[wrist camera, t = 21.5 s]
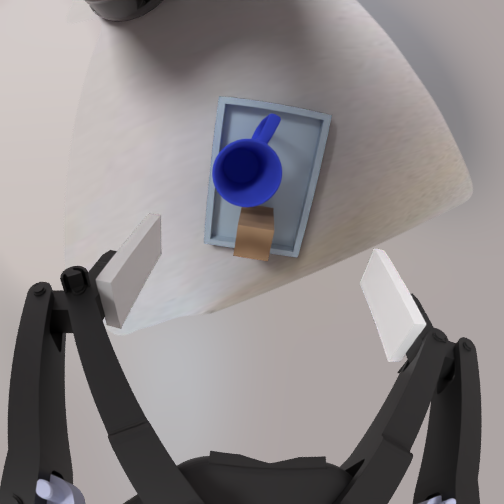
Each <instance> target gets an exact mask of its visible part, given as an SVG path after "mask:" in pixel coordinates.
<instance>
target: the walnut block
mask: <svg viewBox="0 0 504 504" xmlns="http://www.w3.org/2000/svg"><path fill="white" fill-rule="evenodd" d="M273 235H274V212H273V208H270V207H264V206H254V207H242V208H241V212H240V217H239V222H238V227H237V234H236V241H235V248H234V255H233V256H238V257H245V258H251V259H257V260H264V261H268V258H269V253H270V249H271V244H272V240H273Z"/></svg>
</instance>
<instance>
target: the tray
mask: <svg viewBox="0 0 504 504" xmlns="http://www.w3.org/2000/svg"><path fill="white" fill-rule="evenodd" d="M271 113H273V114H276V115H278V116H279V117H280V118H281V121H280V123H279V125H278V127H277V129H276V131H275V133H274V134H273V136H272V138H271V139H270V141H269V142H268V145H269V146H270V147H271V148H272V149H273V150H274V151H275V152H276V154H277V155H278V157H279V159H280V162H281V165H282V180H281V183H280V186H279V188H278V190H277V191H276V193H275V194H274V195H273V196H272V197H271V198H270V199H269V200H268V201H266V202H265V203H263V204H261V205H258V206H264V207H270V208H273V212H274V235H273V240H272V244H271V249H270V254H277V255H284V256H290V257H297V258H298V254H299V251H300V247H301V243H302V239H303V236H304V232H305V228H306V224H307V220H308V216H309V213H310V209H311V205H312V201H313V197H314V192H315V188H316V184H317V180H318V176H319V172H320V167H321V163H322V159H323V154H324V150H325V145H326V141H327V136H328V131H329V127H330V122H331V117H332V115H329V114H324V113H320V112H316V111H311V110H307V109H302V108H297V107H292V106H287V105H281V104H276V103H270V102H263V101H257V100H249V99H242V98H233V97H224V96H219V101H218V108H217V115H216V123H215V131H214V140H213V148H212V157H211V167H210V177H209V187H208V198H207V209H206V222H205V235H204V243H205V244H211V245H218V246H224V247H231V248H235V241H236V234H237V227H238V222H239V217H240V212H241V208H242V207H239V206H235V205H233V204H231V203H229V202H227V201H226V200H225V199H223V198H222V197H221V196H220V194H219V193H218V192H217V190H216V188H215V186H214V183H213V178H212V169H213V164H214V161H215V159H216V157H217V155H218V154H219V152H220V151H221V150H222V149H223V148H224V147H225V146H227V145H228V144H230V143H232V142H234V141H236V140H240V139H251V138H252V136H253V134H254V132H255V130H256V128H257V126H258V125H259V124H260V122H261V121H262V120H263V119H264V118H265V117H266V116H268V115H269V114H271Z"/></svg>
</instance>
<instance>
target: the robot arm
mask: <svg viewBox="0 0 504 504" xmlns="http://www.w3.org/2000/svg"><path fill="white" fill-rule="evenodd" d="M85 1H86V2H87V3H88V4H89V5H90V7H91V9H92V10H93V12H94V13H95V14H97V15H98V16H100V17H102V18H105V19H108V20H111V21H126V20H131V19H134V18H137V17H139V16H141V15H143V14H145V13H147V12H149V11H150V10H152V9H153V8H155V7H156V6H157V5H158V4H159V3H161V2H162V1H163V0H85ZM161 254H162V252H161V215H160V214H152V213H149V214H148V215H147V216H146V217H145V219H144V220H143V221H142V222H141V223H140V224H139V225H138V227H137V228H136V229H135V230H134V231H133V233H132V234H131V235H130V236H129V237H128V239H127V240H126V241H125V242H124V243H123V245H122V246H121V247H120V248H119V250H118V251H112V250H110V251H108V252H106V253H105V254H103V255H102V256H101V257H100V259H99V260H98V262H96V263H95V265H94V266H93V267H92V268H91V270H90V271H89V272H88V271H87V270H86V268H84V267H82V266H73V267H70V268H67V269H66V270H65V271H63V273H62V274H61V278H60V279H61V282H62V286H63V289H64V291H53V290H52V288H51V285H50V284H49V283H47V282H39V283H36V284H34V285H33V286H32V287H31V288H30V289H29V291H28V293H27V297H26V300H25V304H24V308H23V313H22V316H21V321H20V325H19V329H18V335H17V339H16V345H15V351H14V357H13V364H12V371H11V379H10V390H9V404H8V453H7V457H6V461H5V466H4V470H3V475H2V480H1V486H0V504H85V499H84V496H83V494H82V493H81V491H80V490H79V489H78V488H77V487H76V486H74V485H73V471H72V463H71V456H70V449H69V441H68V433H67V422H66V409H65V381H64V379H65V378H64V377H65V341H66V333H73V334H74V338H75V342H76V345H77V349H78V353H79V356H80V360H81V363H82V366H83V369H84V372H85V375H86V378H87V381H88V384H89V387H90V390H91V393H92V396H93V398H94V401H95V404H96V406H97V408H98V411H99V413H100V416H101V418H102V421H103V423H104V425H105V428H106V430H107V432H108V438H109V441H110V443H111V446H112V448H113V450H114V452H115V454H116V456H117V458H118V460H119V462H120V464H121V466H122V468H123V469H124V471H125V473H126V475H127V477H128V478H129V480H130V482H131V483H132V485H133V487H134V488H135V490H136V492H137V493H138V494H137V495H136V496H134V497H133V498H131V499H130V500H128V501H126V502H125V503H124V504H388V502H389V500H390V499H391V497H392V496H393V494H394V492H395V491H396V489H397V487H398V485H399V484H400V482H401V480H402V478H403V476H404V475H405V473H406V471H407V469H408V467H409V465H410V463H411V461H412V458H413V454H412V453H410V450H411V447H412V445H413V443H414V441H415V438H416V436H417V434H418V432H419V430H420V427H421V425H422V422H423V420H424V417H425V415H426V412H427V410H428V407H429V404H430V402H431V407H430V416H429V424H428V430H427V437H426V443H425V448H424V454H423V459H422V463H421V468H420V472H419V476H418V480H417V484H416V488H415V493H414V499H413V504H480V499H479V487H478V472H479V462H480V449H481V395H480V394H481V393H480V379H479V369H478V361H477V353H476V348H475V346H474V344H473V343H472V341H471V340H469V339H467V338H464V337H463V338H460V339H459V341H458V342H457V343H453V342H450V341H448V339H447V336H446V335H445V334H444V333H443V332H442V331H441V330H439V329H437V328H433V326H432V324H431V322H430V320H429V318H428V316H427V314H426V313H425V311H424V309H423V308H422V305H421V304H420V302H419V300H418V299H417V298H416V297H415V296H414V295H413V294H410V293H409V291H408V289H407V287H406V286H405V284H404V282H403V280H402V279H401V277H400V275H399V274H398V272H397V270H396V269H395V267H394V265H393V264H392V262H391V260H390V259H389V257H388V255H387V254H386V253H385V251H384V250H381V249H375V248H374V250H373V252H372V255H371V257H370V260H369V262H368V264H367V267H366V269H365V272H364V274H363V276H362V279H361V281H360V285H361V288H362V291H363V293H364V296H365V298H366V300H367V303H368V306H369V308H370V311H371V314H372V316H373V319H374V322H375V325H376V327H377V330H378V333H379V336H380V338H381V341H382V344H383V347H384V350H385V353H386V356H387V359H388V362H394V361H395V362H398V361H401V359H402V358H403V357H404V355H405V354H406V356H407V358H408V360H407V361H406V362H405V364H404V365H403V366H402V367H401V369H400V370H399V371H398V373H400V374H399V376H398V378H397V380H396V382H395V384H394V386H393V388H392V389H391V391H390V393H389V395H388V397H387V399H386V401H385V402H384V404H383V406H382V407H381V409H380V411H379V413H378V414H377V416H376V418H375V419H374V421H373V422H372V424H371V426H370V427H369V429H368V430H367V432H366V434H365V435H364V437H363V438H362V440H361V441H360V443H359V444H358V446H357V447H356V448H355V450H354V451H353V453H352V454H351V456H350V457H349V458H348V459H347V460H346V461H345V462H344V463H343V464H342V465H341V466H340V467H338V466H336V465H333V464H330V463H326V457H298V458H294V459H289V460H285V461H280V462H276V463H266V462H262V461H259V460H255V459H252V458H249V457H246V456H243V455H240V454H230V453H222V452H215V451H210V456H203V457H198V458H194V459H190V460H187V461H185V462H183V463H181V464H179V465H177V466H176V465H175V463H174V461H173V460H172V458H171V457H170V455H169V454H168V452H167V451H166V449H165V447H164V446H163V444H162V443H161V441H160V440H159V438H158V436H157V434H156V433H155V431H154V429H153V428H152V426H151V424H150V423H149V421H148V420H147V418H146V417H145V415H144V413H143V411H142V409H141V407H140V406H139V404H138V402H137V400H136V398H135V396H134V394H133V392H132V390H131V388H130V386H129V383H128V381H127V379H126V377H125V375H124V373H123V371H122V368H121V366H120V364H119V362H118V359H117V357H116V355H115V352H114V350H113V347H112V345H111V342H110V340H109V337H108V335H107V332H106V329H105V326H104V324H103V319H104V317H105V320H106V323H107V325H109V326H112V327H116V328H120V329H121V328H122V326H123V324H124V322H125V320H126V318H127V316H128V314H129V312H130V310H131V308H132V306H133V304H134V302H135V301H136V299H137V297H138V295H139V293H140V291H141V289H142V288H143V286H144V284H145V282H146V280H147V279H148V277H149V275H150V273H151V271H152V270H153V268H154V266H155V264H156V263H157V261H158V259H159V257H160V256H161Z"/></svg>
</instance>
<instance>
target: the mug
mask: <svg viewBox="0 0 504 504" xmlns="http://www.w3.org/2000/svg"><path fill="white" fill-rule="evenodd" d="M280 121H281V118H280V117H279V116H278V115H276V114H273V113H271V114H269V115H268V116H266V117H265V118H264V119H263V120H262V121H261V122H260V124H259V125H258V126H257V128H256V130H255V132H254V134H253V136H252V138H251V139H240V140H236V141H234V142H232V143H230V144H228V145H227V146H225V147H224V148H223V149H222V150H221V151H220V152H219V154H218V155H217V157H216V159H215V161H214V164H213V169H212V178H213V183H214V186H215V188H216V190H217V192H218V193H219V194H220V196H221V197H222V198H223V199H225V200H226V201H227V202H229V203H231V204H233V205H235V206H239V207H254V206H258V205H261V204H263V203H265V202H266V201H268V200H269V199H270V198H271V197H272V196H273V195H274V194H275V193H276V191H277V190H278V188H279V186H280V183H281V180H282V165H281V162H280V159H279V157H278V155H277V154H276V152H275V151H274V150H273V149H272V148H271V147H270V146H269V145H268V142H269V141H270V139H271V138H272V136H273V134H274V133H275V131H276V129H277V127H278V125H279V123H280Z"/></svg>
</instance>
